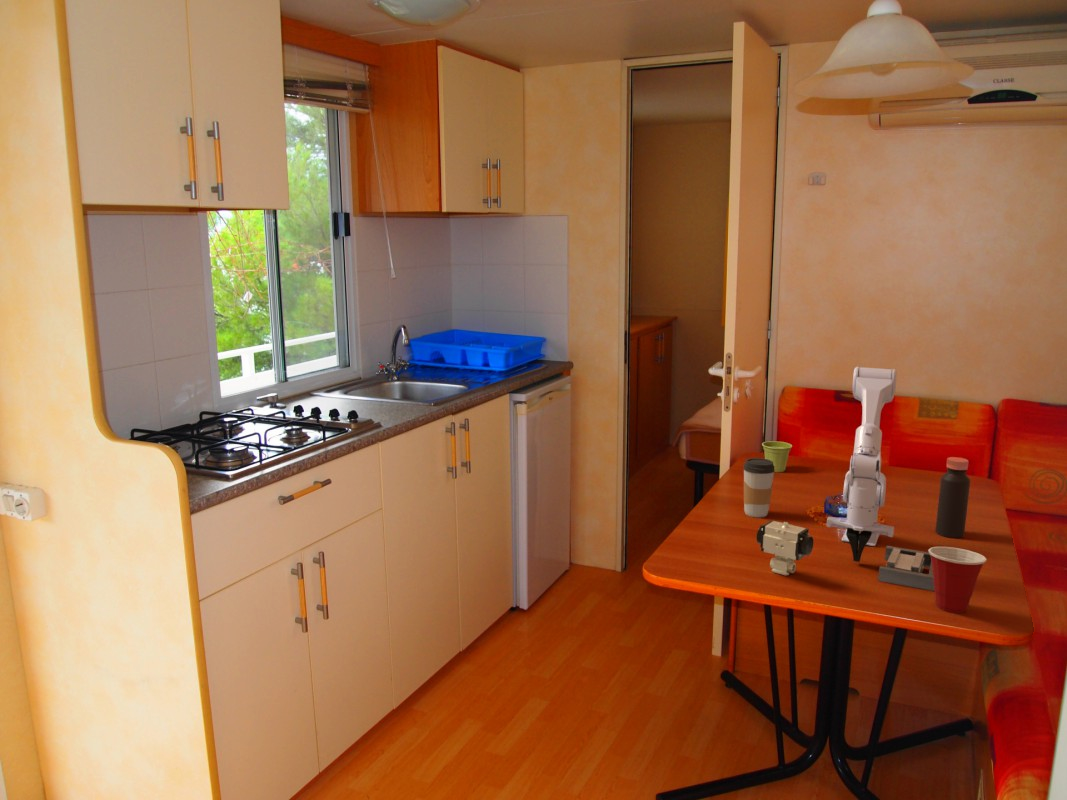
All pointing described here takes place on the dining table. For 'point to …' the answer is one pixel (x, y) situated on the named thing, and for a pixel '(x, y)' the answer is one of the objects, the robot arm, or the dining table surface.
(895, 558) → the block
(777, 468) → the plant pot
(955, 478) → the bottle
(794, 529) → the pneumatic valve
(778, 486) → the dining table surface
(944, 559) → the plastic cup
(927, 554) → the dock
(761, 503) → the coffee cup
